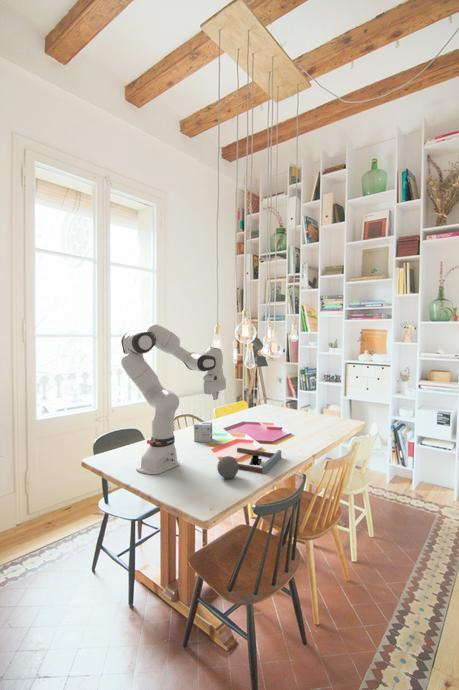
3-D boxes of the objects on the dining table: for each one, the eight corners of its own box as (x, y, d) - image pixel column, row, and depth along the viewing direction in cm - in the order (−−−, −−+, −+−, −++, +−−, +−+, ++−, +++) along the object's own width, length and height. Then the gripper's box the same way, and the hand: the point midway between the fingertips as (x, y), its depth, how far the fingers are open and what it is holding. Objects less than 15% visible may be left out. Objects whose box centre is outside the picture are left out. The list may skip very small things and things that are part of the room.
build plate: (261, 468, 186) (260, 459, 185) (246, 467, 187) (246, 458, 187) (263, 458, 198) (263, 450, 197) (250, 458, 199) (250, 449, 199)
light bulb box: (212, 438, 232) (212, 421, 231) (211, 442, 225) (210, 424, 224) (196, 438, 233) (195, 421, 232) (193, 441, 226) (193, 424, 225)
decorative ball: (241, 480, 170) (241, 459, 169) (221, 483, 167) (221, 462, 166) (234, 472, 179) (233, 452, 179) (214, 475, 176) (214, 454, 175)
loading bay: (265, 474, 176) (265, 466, 176) (218, 465, 188) (218, 457, 187) (281, 457, 198) (281, 450, 197) (238, 450, 209) (238, 443, 209)
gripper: (219, 373, 220) (219, 395, 221) (201, 377, 202) (201, 402, 203) (228, 373, 217) (228, 396, 218) (211, 378, 199) (211, 403, 200)
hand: (215, 399), depth 210 cm, fingers closed
